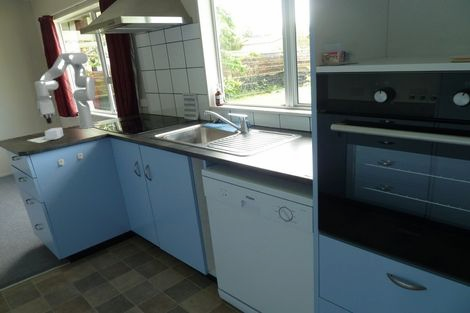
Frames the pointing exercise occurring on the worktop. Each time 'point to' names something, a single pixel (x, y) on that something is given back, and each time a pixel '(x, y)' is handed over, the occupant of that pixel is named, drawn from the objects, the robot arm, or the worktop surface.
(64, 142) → the worktop surface
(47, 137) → the small box
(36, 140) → the mat
